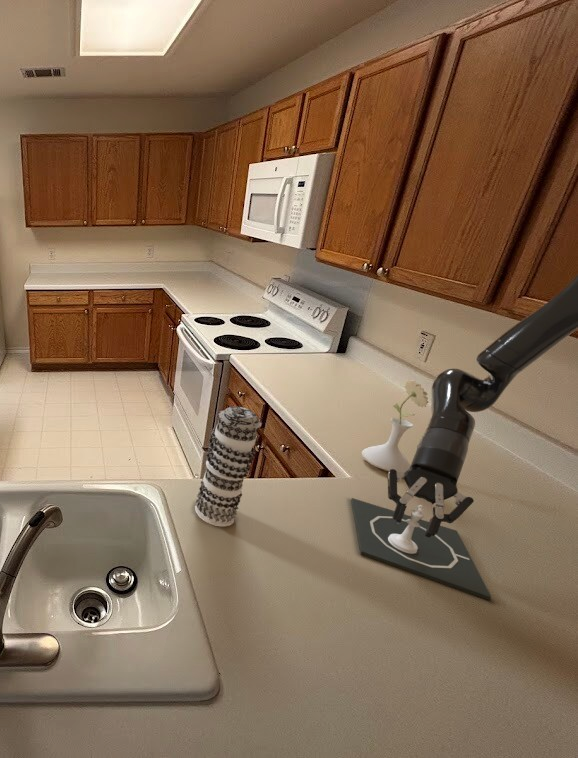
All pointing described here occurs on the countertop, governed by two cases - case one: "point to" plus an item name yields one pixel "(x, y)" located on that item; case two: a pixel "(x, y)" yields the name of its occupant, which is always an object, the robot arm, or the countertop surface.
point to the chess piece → (407, 533)
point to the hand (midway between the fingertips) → (412, 528)
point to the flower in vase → (396, 435)
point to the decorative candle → (227, 465)
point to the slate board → (434, 554)
